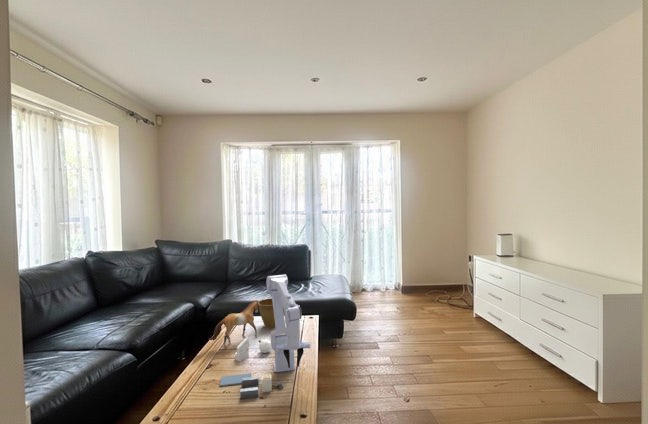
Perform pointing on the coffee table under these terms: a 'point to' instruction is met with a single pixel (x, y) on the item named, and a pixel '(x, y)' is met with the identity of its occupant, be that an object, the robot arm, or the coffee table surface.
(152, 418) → the coffee table surface
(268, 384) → the wall lamp
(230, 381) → the mat
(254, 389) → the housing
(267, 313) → the plant pot
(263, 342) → the ornament
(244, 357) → the white wedge bracket
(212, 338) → the horse figurine
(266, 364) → the coffee table surface
